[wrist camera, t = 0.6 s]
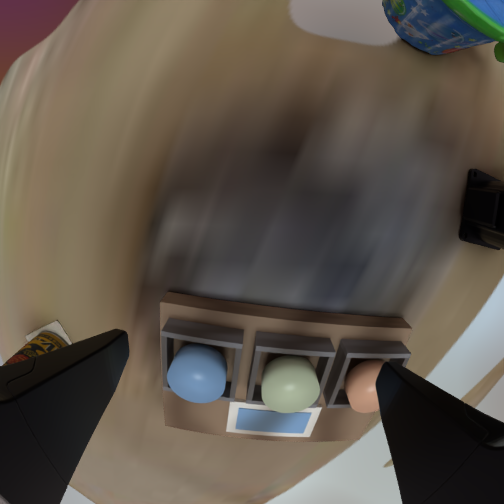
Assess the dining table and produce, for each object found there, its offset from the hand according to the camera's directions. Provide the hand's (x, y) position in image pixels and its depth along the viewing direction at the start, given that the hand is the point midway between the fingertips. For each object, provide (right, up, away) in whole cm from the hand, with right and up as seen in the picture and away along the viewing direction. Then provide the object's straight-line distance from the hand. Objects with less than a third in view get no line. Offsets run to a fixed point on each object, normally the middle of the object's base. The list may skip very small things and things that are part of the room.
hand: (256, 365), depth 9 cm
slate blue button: (-4, -5, +11) cm, 12 cm away
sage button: (+3, -6, +11) cm, 13 cm away
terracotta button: (+9, -6, +11) cm, 16 cm away
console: (+2, -8, +15) cm, 17 cm away
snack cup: (+14, +24, +7) cm, 29 cm away
